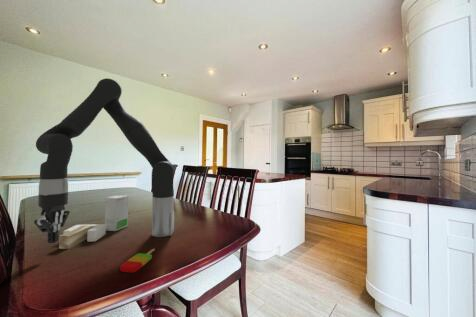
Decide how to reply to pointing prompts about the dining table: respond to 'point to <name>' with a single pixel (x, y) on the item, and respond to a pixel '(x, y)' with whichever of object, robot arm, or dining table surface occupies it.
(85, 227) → the beige wooden block
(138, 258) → the popsicle
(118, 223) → the skincare box
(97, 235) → the end cap
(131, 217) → the dining table surface
